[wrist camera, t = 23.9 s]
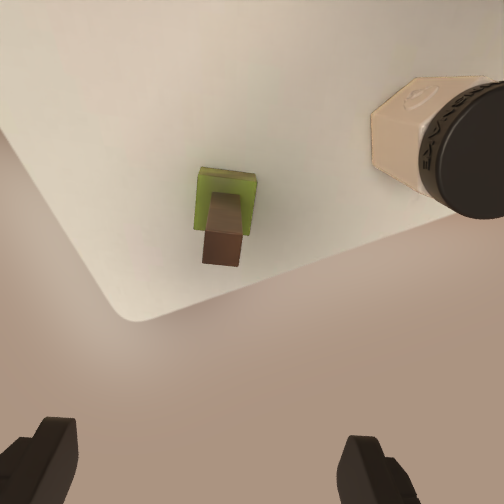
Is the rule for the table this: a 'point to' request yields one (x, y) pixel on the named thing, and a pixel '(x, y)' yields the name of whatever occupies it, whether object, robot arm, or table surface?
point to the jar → (446, 142)
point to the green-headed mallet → (224, 213)
